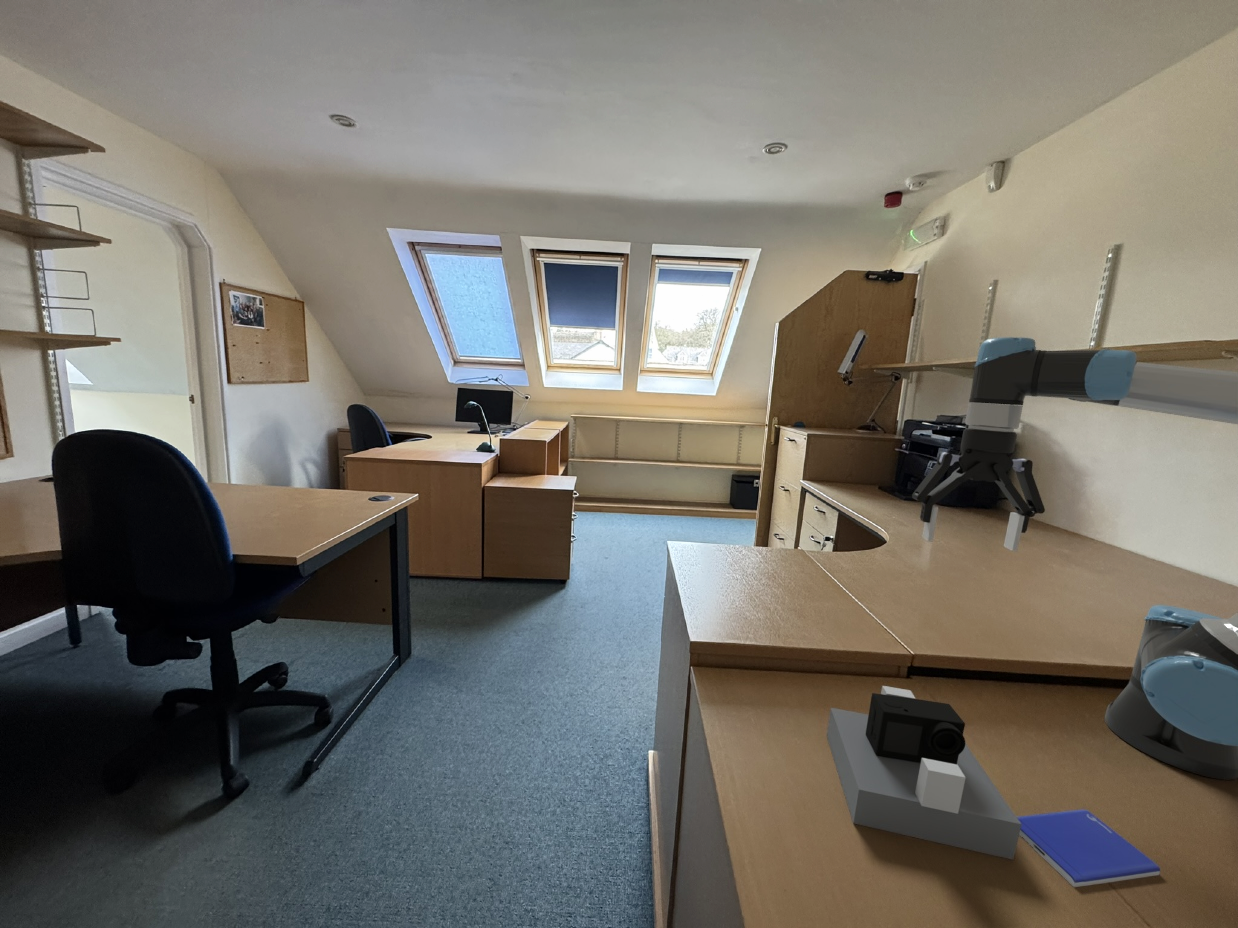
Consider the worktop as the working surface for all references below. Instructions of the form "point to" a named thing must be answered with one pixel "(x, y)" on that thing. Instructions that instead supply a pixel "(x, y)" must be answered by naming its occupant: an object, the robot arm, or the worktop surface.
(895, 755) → the digital camera
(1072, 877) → the hard drive
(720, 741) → the worktop surface
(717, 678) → the worktop surface
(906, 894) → the worktop surface
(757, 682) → the worktop surface
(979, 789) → the stand
